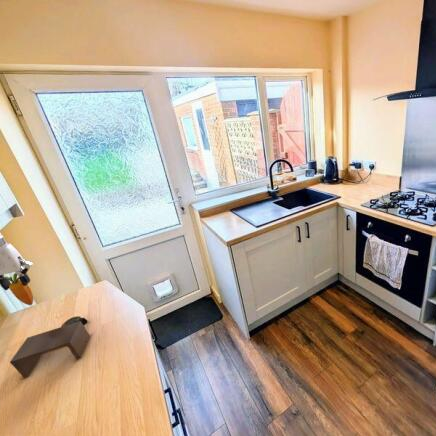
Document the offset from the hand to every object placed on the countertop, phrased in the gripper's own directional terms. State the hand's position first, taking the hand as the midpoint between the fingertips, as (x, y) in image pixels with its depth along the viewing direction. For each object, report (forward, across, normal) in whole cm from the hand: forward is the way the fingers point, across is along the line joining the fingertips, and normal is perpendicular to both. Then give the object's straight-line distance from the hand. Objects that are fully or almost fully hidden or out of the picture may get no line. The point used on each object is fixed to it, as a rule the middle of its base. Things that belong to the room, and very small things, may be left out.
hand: (17, 285), depth 94 cm
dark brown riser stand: (+20, +13, -22) cm, 33 cm away
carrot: (+10, 0, 0) cm, 10 cm away
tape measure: (+20, +15, -10) cm, 27 cm away
